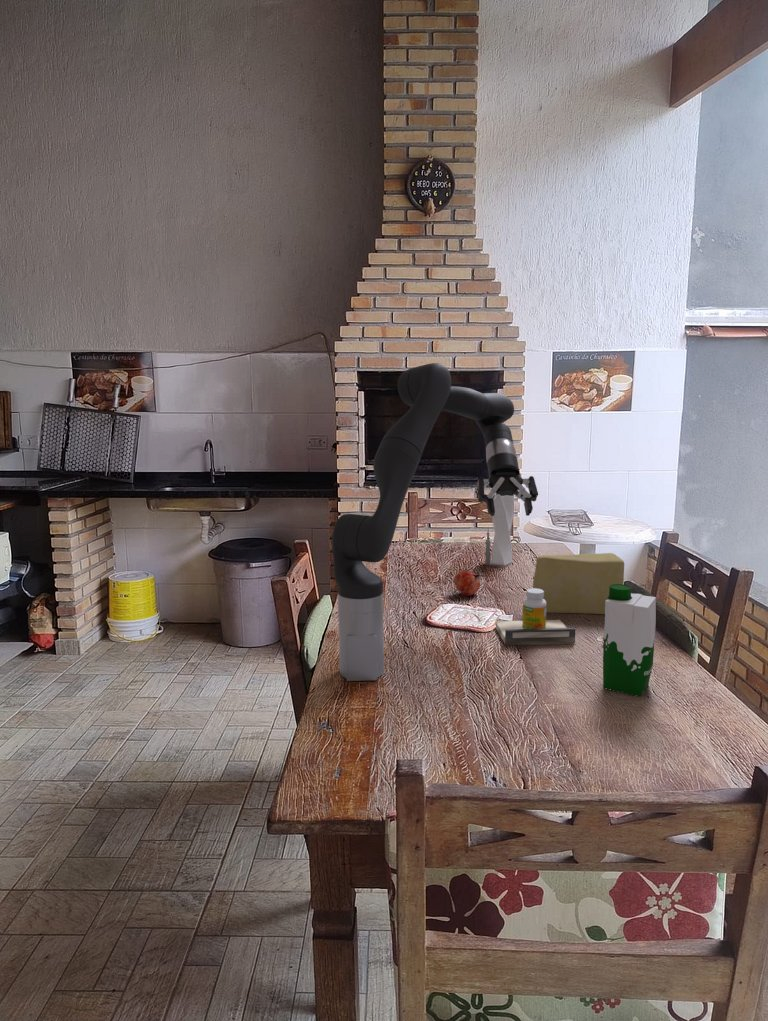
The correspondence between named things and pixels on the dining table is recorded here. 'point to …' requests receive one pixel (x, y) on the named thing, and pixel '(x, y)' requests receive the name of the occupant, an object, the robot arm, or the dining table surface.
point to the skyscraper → (501, 532)
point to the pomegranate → (467, 582)
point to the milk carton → (628, 640)
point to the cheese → (577, 581)
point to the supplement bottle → (534, 610)
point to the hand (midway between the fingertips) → (510, 513)
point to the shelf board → (535, 633)
